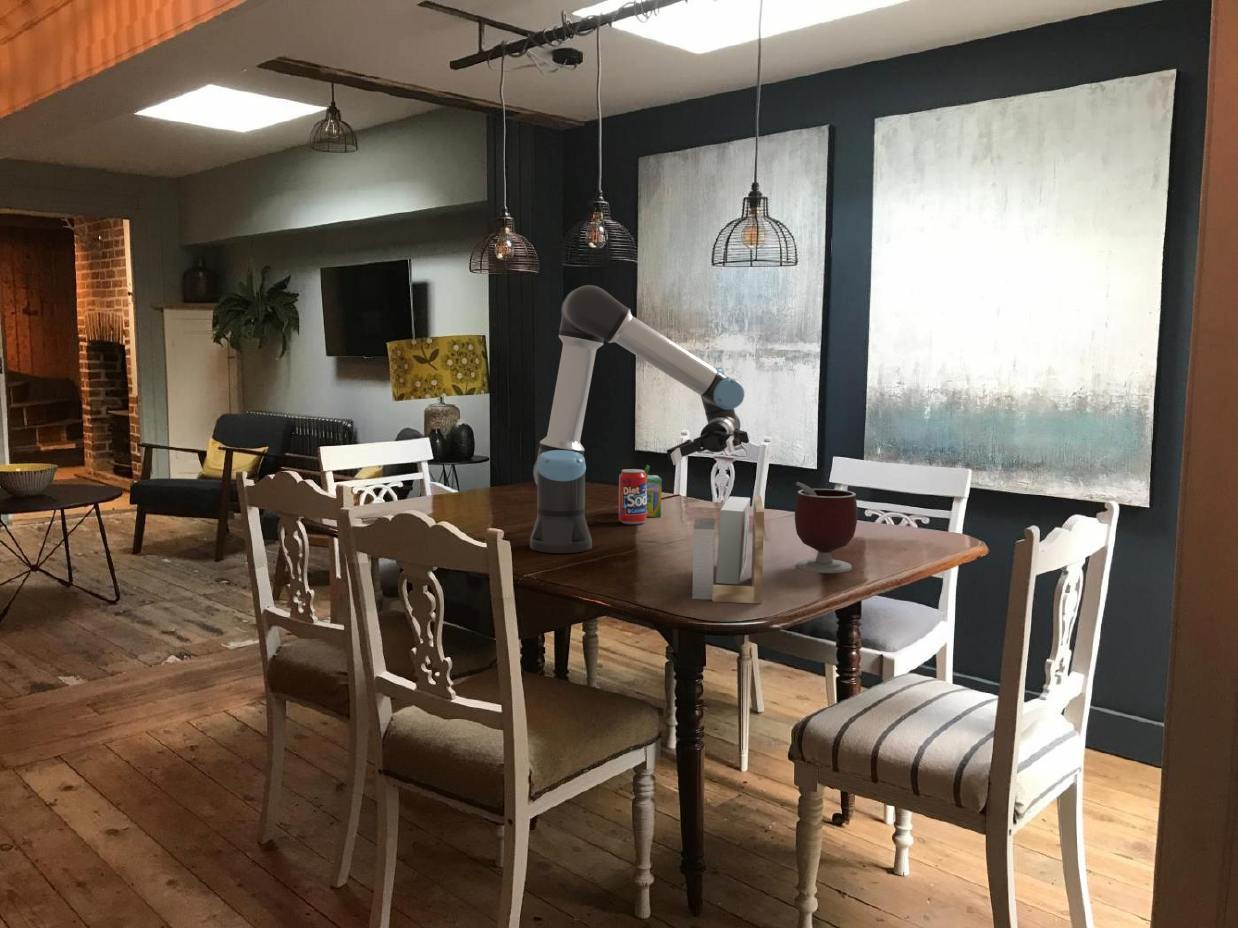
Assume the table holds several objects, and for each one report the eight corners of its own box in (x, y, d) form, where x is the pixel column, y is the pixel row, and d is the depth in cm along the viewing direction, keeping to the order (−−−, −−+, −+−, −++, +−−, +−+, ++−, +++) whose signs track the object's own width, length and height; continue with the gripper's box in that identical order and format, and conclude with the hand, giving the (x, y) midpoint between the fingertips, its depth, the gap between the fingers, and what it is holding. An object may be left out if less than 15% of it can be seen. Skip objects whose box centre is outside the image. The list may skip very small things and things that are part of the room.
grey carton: (692, 598, 197) (693, 524, 195) (693, 589, 205) (695, 518, 203) (712, 599, 197) (714, 525, 195) (713, 589, 205) (715, 518, 203)
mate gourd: (827, 558, 237) (830, 474, 235) (868, 570, 225) (871, 482, 222) (775, 564, 230) (777, 478, 227) (813, 576, 217) (817, 486, 215)
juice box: (626, 512, 299) (626, 463, 298) (656, 512, 300) (657, 463, 299) (630, 517, 290) (631, 467, 288) (661, 517, 291) (662, 467, 290)
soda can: (630, 519, 287) (631, 467, 285) (652, 522, 282) (652, 470, 281) (612, 523, 281) (613, 470, 279) (634, 526, 276) (635, 472, 274)
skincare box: (741, 585, 209) (743, 510, 207) (715, 584, 210) (717, 509, 208) (748, 564, 229) (750, 496, 227) (725, 563, 230) (726, 495, 228)
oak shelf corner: (712, 601, 195) (714, 510, 193) (714, 576, 217) (716, 494, 215) (761, 603, 194) (764, 511, 192) (758, 577, 216) (760, 495, 214)
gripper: (769, 438, 249) (756, 456, 229) (674, 459, 257) (655, 479, 237) (761, 409, 248) (748, 425, 228) (667, 432, 256) (646, 449, 236)
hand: (700, 453), depth 232 cm, fingers open, 13 cm apart
